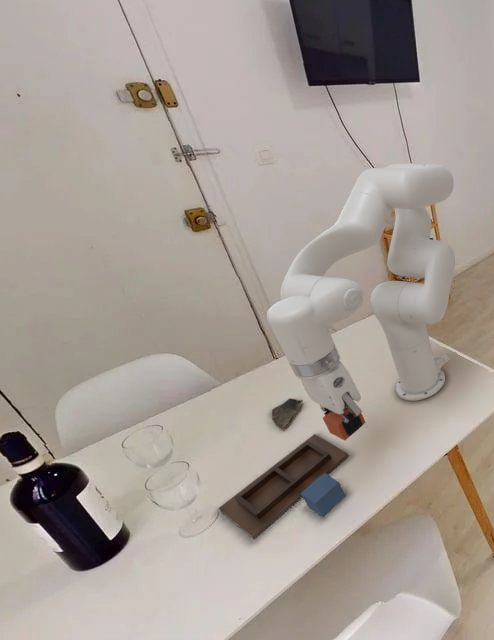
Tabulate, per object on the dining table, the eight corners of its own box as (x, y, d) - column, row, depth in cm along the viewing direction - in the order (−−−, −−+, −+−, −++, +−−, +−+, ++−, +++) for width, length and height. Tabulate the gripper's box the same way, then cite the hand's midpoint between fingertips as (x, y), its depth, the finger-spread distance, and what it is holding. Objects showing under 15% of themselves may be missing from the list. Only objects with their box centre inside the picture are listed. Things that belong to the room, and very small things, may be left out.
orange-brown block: (350, 415, 88) (344, 400, 85) (365, 422, 86) (359, 407, 83) (329, 432, 84) (322, 417, 81) (344, 440, 82) (337, 425, 80)
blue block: (331, 486, 85) (324, 472, 83) (345, 495, 83) (339, 481, 81) (308, 507, 81) (300, 493, 79) (322, 517, 79) (315, 503, 77)
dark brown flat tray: (316, 436, 96) (312, 429, 95) (349, 456, 91) (345, 448, 90) (220, 511, 81) (214, 503, 80) (254, 539, 76) (248, 531, 75)
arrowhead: (280, 433, 97) (277, 429, 97) (268, 412, 103) (266, 408, 103) (312, 416, 102) (310, 412, 101) (299, 397, 108) (297, 393, 107)
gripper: (363, 359, 74) (390, 426, 84) (306, 335, 81) (336, 399, 91) (325, 387, 69) (358, 455, 78) (267, 358, 76) (304, 424, 85)
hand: (346, 425), depth 84 cm, fingers closed on orange-brown block, 4 cm apart
